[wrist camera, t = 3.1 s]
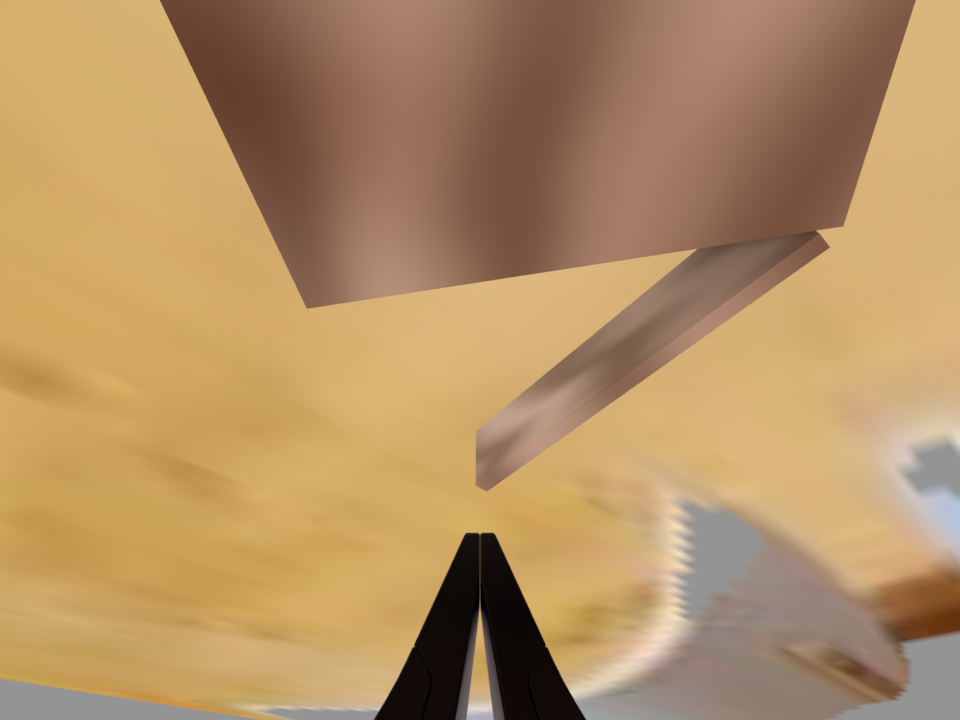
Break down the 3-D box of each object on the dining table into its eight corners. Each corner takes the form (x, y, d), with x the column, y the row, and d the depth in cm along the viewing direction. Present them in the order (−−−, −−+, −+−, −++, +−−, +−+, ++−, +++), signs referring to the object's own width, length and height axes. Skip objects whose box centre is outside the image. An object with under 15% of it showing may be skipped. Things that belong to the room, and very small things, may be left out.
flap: (489, 438, 22) (490, 493, 19) (476, 430, 21) (475, 485, 19) (778, 210, 15) (833, 252, 13) (764, 193, 15) (819, 233, 12)
